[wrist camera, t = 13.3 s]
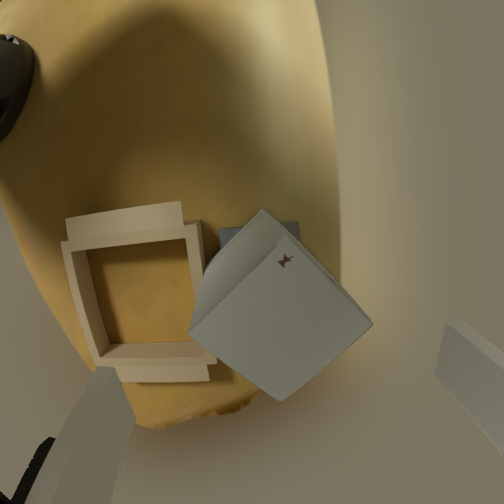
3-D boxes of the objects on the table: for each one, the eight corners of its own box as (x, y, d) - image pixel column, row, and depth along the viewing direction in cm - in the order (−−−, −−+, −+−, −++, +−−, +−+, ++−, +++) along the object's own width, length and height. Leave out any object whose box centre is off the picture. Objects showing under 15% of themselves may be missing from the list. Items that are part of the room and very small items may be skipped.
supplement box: (204, 264, 26) (180, 333, 14) (263, 205, 26) (289, 227, 13) (261, 316, 28) (279, 406, 16) (319, 263, 27) (378, 324, 15)
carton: (109, 365, 29) (101, 380, 26) (72, 216, 25) (56, 220, 22) (221, 363, 30) (220, 380, 27) (198, 197, 26) (193, 199, 23)
